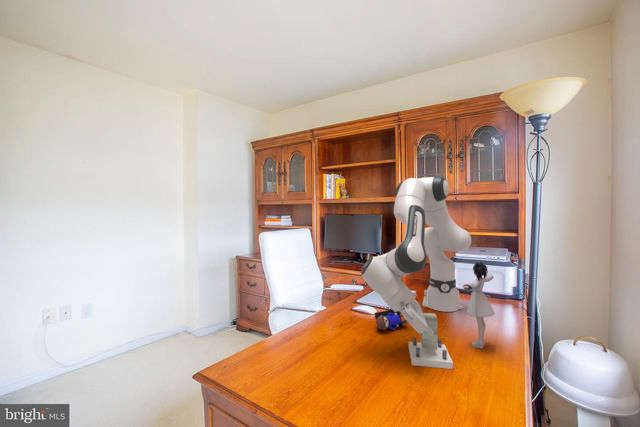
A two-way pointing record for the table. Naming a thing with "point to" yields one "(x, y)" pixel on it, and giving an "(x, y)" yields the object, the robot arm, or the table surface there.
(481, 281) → the figurine
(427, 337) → the sage block
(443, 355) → the display base
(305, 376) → the table surface
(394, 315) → the character figurine
